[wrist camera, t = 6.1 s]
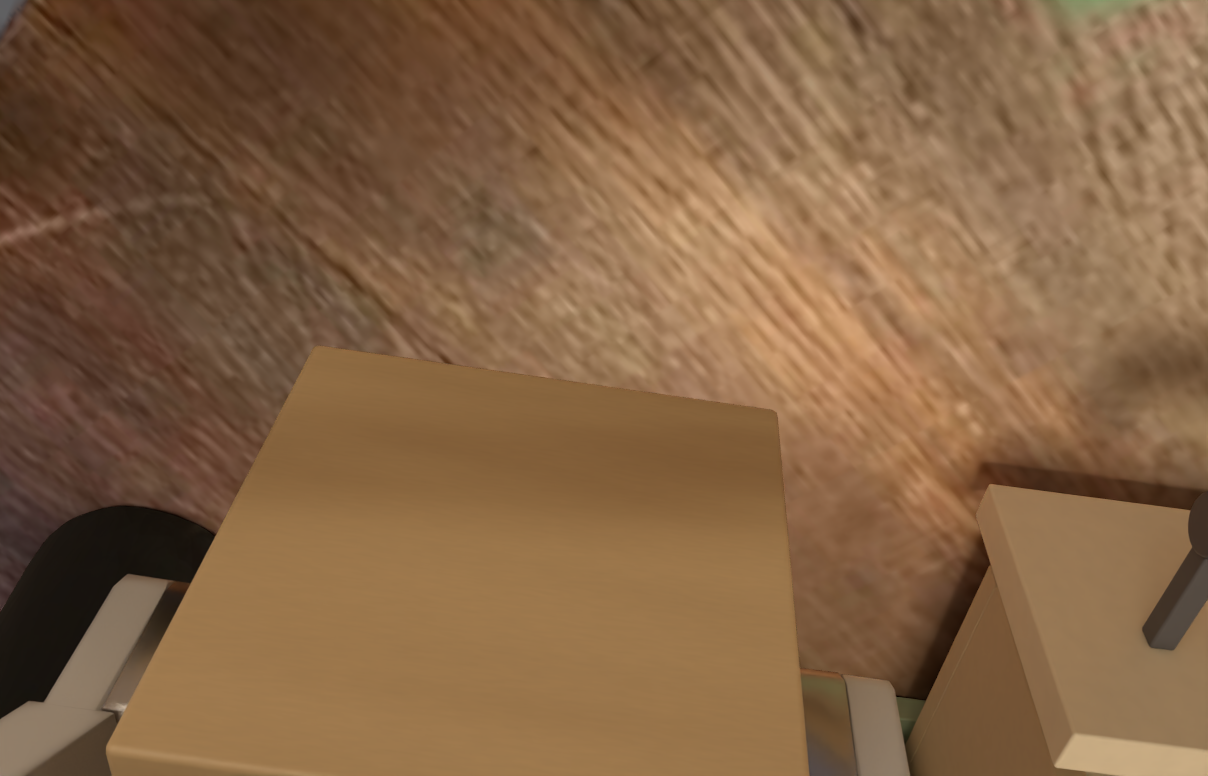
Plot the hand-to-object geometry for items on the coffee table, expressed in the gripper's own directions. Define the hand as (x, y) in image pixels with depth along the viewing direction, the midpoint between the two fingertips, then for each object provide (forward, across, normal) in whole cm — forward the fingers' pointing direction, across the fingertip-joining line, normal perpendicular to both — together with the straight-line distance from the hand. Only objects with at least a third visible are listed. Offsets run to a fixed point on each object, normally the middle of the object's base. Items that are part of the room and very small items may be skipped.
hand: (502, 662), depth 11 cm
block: (+2, 0, 0) cm, 2 cm away
